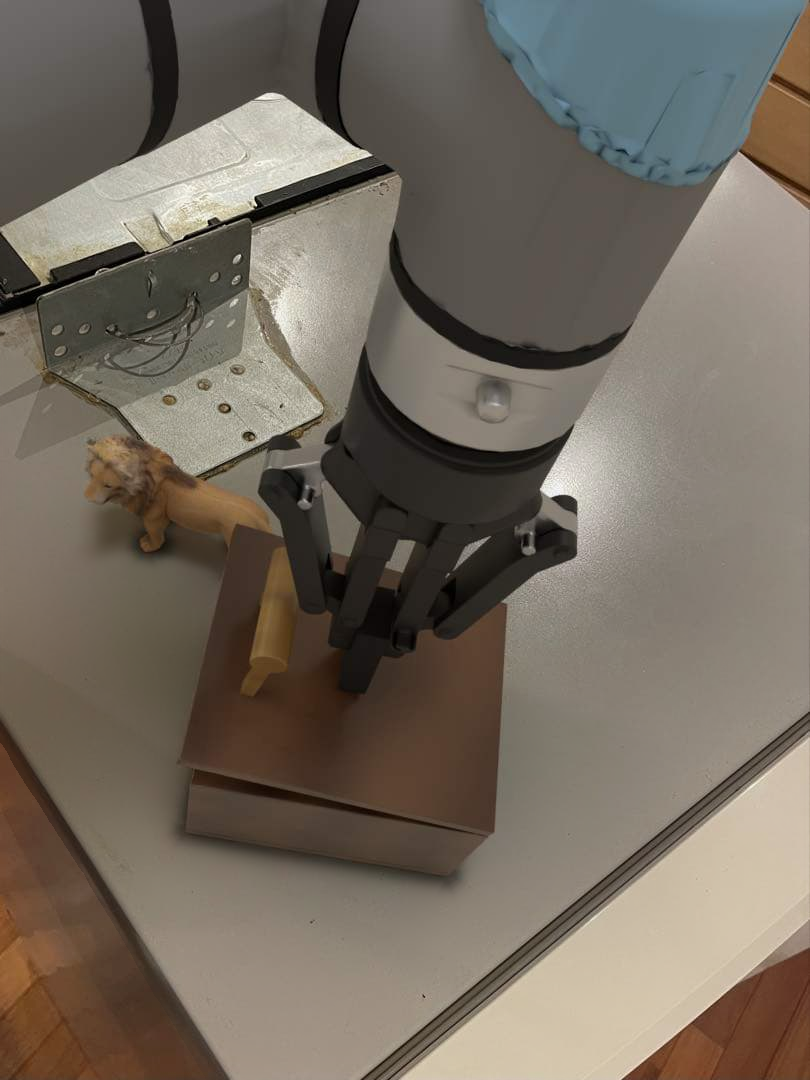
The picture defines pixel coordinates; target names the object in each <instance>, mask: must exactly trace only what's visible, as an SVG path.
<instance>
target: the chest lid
mask: <svg viewBox="0 0 810 1080" xmlns="http://www.w3.org/2000/svg"><path fill="white" fill-rule="evenodd" d="M227 549H228V548H227ZM332 556H333V563H334V566H333V570H334V571H336V572H339V573H341V574H344V571H345V565H346V561H347V562H348V561H349V558H350V556H348V555H345V554H341V553H338V552H335V551H332ZM402 574H403V571H398V570H395V569H392V568H388V567H385V568H384V571H383V573H382V576H381V578H380V581H379V583H378V586H379V587H384V588H389V589H394V590H396V593H395V597H396V594H397V586H398V583H399V581H400V579H401V576H402ZM215 599H216V600H215V603H214V608H213V611H212V616H211V620H210V624H209V627H208V631H207V635H206V641H205V644H204V648H203V652H202V657H201V661H200V665H199V670H198V674H197V677H196V682H195V685H194V690H193V693H192V698H191V701H190V702H191V703H190V706H189V711H188V715H187V719H186V723H185V727H184V731H183V735H182V740H181V743H180V747H179V752H178V755H177V760H176V765H177V766H181V767H186V768H191V769H193V770H194V769H198V770H203V771H207V772H211V773H216V774H220V775H224V776H229V777H233V778H237V779H242V780H246V781H250V782H255V783H259V784H264V785H268V786H272V787H277V788H281V789H285V790H290V791H294V792H298V793H303V794H307V795H311V796H316V797H320V798H324V799H329V800H333V801H337V802H342V803H346V804H350V805H355V806H359V807H363V808H368V809H372V810H377V811H381V812H385V813H390V814H394V815H398V816H403V817H407V818H411V819H416V820H420V821H424V822H429V823H433V824H437V825H442V826H446V827H450V828H455V829H459V830H463V831H468V832H472V833H476V834H481V835H485V836H489V837H490V836H491V835H493V834H494V833H495V831H496V830H495V829H496V813H497V812H496V811H497V797H498V796H497V795H498V794H497V793H498V780H499V779H498V778H499V759H500V758H499V757H500V744H501V743H500V742H501V724H502V723H501V722H502V707H503V688H504V687H503V686H504V670H505V669H504V668H505V655H506V653H505V652H506V637H507V636H506V633H507V619H508V617H507V616H508V603H506V602H503V601H502V602H500V603H499V604H498V605H497V606H495V607H494V608H493V609H492V610H490V611H489V612H488V613H487V614H485V615H484V616H483V617H482V618H480V619H479V620H478V621H477V622H476V623H474V624H473V625H472V626H471V627H469V628H468V629H467V630H466V631H464V632H463V633H462V634H461V635H459V636H458V637H457V638H455V639H450V640H443V639H440V638H438V637H436V636H435V635H433V630H420V631H419V633H418V635H417V642H416V650H415V651H414V652H411V653H404V655H403V656H402V657H400V658H398V659H396V658H390V657H385V656H382V658H381V660H380V662H379V664H378V667H377V669H376V671H375V673H374V675H373V678H372V680H371V682H370V684H369V687H368V689H367V691H366V693H365V694H361V693H355V692H350V691H345V690H339V689H337V687H338V680H339V674H340V667H341V661H342V655H343V649H340V648H334V647H330V645H329V643H328V637H329V631H330V625H331V619H332V615H333V614H332V613H330V612H329V611H326V612H324V613H323V614H320V615H313V614H308V613H305V612H304V611H302V610H301V608H300V606H299V602H298V598H297V593H296V589H295V585H294V580H293V576H292V572H291V567H290V563H289V559H288V554H287V550H286V545H285V541H284V537H283V536H281V535H277V534H275V533H274V534H271V533H268V532H264V531H261V530H258V529H254V528H251V527H248V526H244V525H241V524H236V525H235V527H234V529H233V533H232V537H231V541H230V545H229V549H228V550H227V554H226V558H225V562H224V566H223V570H222V575H221V579H220V582H219V587H218V591H217V595H216V598H215Z"/></svg>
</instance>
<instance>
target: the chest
mask: <svg viewBox="0 0 810 1080" xmlns="http://www.w3.org/2000/svg"><path fill="white" fill-rule="evenodd" d="M188 791H189V793H188V799H187V800H188V801H187V812H186V820H185V831H184V832H185V833H186V834H190V835H191V834H192V835H196V836H202V837H209V838H215V839H221V840H226V841H227V840H228V841H233V842H239V843H246V844H250V845H257V846H262V847H267V848H275V849H280V850H287V851H292V852H299V853H303V854H304V853H305V854H311V855H315V856H316V855H317V856H321V857H328V858H335V859H340V860H345V861H352V862H359V863H365V864H369V865H376V866H381V867H388V868H394V869H399V870H406V871H411V872H418V873H424V874H429V875H435V876H440V877H441V876H442V877H448V876H450V874H452V872H454V871H455V870H456V869H457V868H458V867H459V866H460V865H461V864H462V863H463V862H464V861H465V860H466V859H467V858H468V857H469V856H471V855H472V854H473V852H475V851H476V850H477V849H478V848H479V847H480V846H481V845H483V843H484V842H485V841H486V840H487V839H488V838H489V837H490V835H489V836H485V835H481V834H476V833H472V832H468V831H463V830H459V829H455V828H450V827H446V826H442V825H437V824H433V823H429V822H424V821H420V820H416V819H411V818H407V817H403V816H398V815H394V814H390V813H385V812H381V811H377V810H372V809H368V808H363V807H359V806H355V805H350V804H346V803H342V802H337V801H333V800H329V799H324V798H320V797H316V796H311V795H307V794H303V793H298V792H294V791H290V790H285V789H281V788H277V787H272V786H268V785H264V784H259V783H255V782H250V781H246V780H242V779H237V778H233V777H229V776H224V775H220V774H216V773H211V772H207V771H203V770H198V769H194V768H193V771H192V775H191V779H190V784H189V790H188Z"/></svg>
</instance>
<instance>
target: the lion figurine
mask: <svg viewBox="0 0 810 1080" xmlns="http://www.w3.org/2000/svg"><path fill="white" fill-rule="evenodd" d="M86 449H87V454H86V456H85V457H86V460H85V465H84V471H85V472H86V473H87V475H88V478H89V481H88V484H86V486H85V487H84V489H83V492H82V493H83V497H84V498H85V499H86V500H87V501H89V502H90V503H92V504H93V505H95V506H96V507H100V506H103V505H104V504H106V503H108V502H109V503H112V504H115V505H119V504H120V505H121V508H122V509H123V510H126V512H127V513H128V514H129V513H132V514H133V515H135V516H137V517H141V518H142V522H143V525H144V528H145V531H146V532H147V534H145V535H144V536H143V537H142V538H140V540H139V542H140V548H141V549H142V550H143V551H144V552H145V553H151V552H154V551H157V550H158V549H160V548H161V546H162V544H163V543H164V542H165V535H164V530H165V529H166V528H167V527H168V526H169V525H170V523H171V521H172V522H174V523H175V524H178V525H179V526H182V527H184V528H186V529H189V530H191V531H194V532H198V533H201V534H205V535H212V536H214V535H219V536H221V537H222V538H223V539H224V540H225V543H226V546H227V549H229V545H230V541H231V537H232V533H233V529H234V527H235V525H236V524H241V525H244V526H248V527H251V528H254V529H258V530H261V531H264V532H268V533H271V534H274V535H275V533H274V531H273V529H272V528H271V526H270V519H269V516H268V513H267V512H266V510H264V509H263V508H262V507H261V506H260V505H259V504H258V503H256V502H255V501H254V500H253V499H252V498H250V497H248V496H246V495H243V494H242V495H241V494H238V493H234V492H231V491H227V490H225V489H223V488H220V487H219V486H216V485H214V484H212V483H209V482H208V481H205V480H203V479H201V478H199V477H197V476H194V475H192V474H190V473H189V472H186V471H184V470H183V469H181V468H180V466H179V465H177V464H175V463H174V459H173V457H172V456H171V455H170V454H169V453H167V452H166V451H162V448H160V447H156V446H154V445H152V444H149V443H148V442H147V441H145V440H140V439H137V438H136V437H134V436H133V435H128V436H127V435H123V434H121V433H115V434H110V435H108V436H105V437H102V438H99V439H98V440H97V441H96V442H95V443H94V445H93V444H92V445H91V444H90V445H86Z"/></svg>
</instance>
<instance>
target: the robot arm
mask: <svg viewBox="0 0 810 1080" xmlns="http://www.w3.org/2000/svg"><path fill="white" fill-rule="evenodd" d="M809 2H810V0H0V228H1V229H2V227H5V226H7V225H8V224H11V223H13V222H14V221H16V220H18V219H19V218H22V217H23V216H25V215H27V214H29V213H31V212H32V211H35V210H36V209H38V208H40V207H42V206H43V205H46V204H48V203H50V202H51V201H53V200H55V199H57V198H59V197H62V195H65V194H66V193H68V192H71V191H72V190H73V189H76V188H77V187H79V186H81V185H83V184H85V183H87V182H89V181H90V180H92V179H94V178H96V177H98V176H100V175H102V174H103V173H105V172H108V171H109V170H111V169H113V168H116V167H119V166H122V165H125V164H127V163H129V162H131V161H133V160H134V159H136V158H139V157H143V156H146V155H148V154H151V153H153V152H155V151H156V150H158V149H160V148H162V147H164V146H166V145H168V144H170V143H172V142H174V141H176V140H178V139H180V138H182V137H184V136H187V135H188V134H190V133H192V132H194V131H195V130H197V129H200V128H202V127H204V126H205V125H207V124H209V123H211V122H214V121H215V120H217V119H219V118H221V117H223V116H225V115H227V114H229V113H231V112H233V111H235V110H237V109H239V108H241V107H243V106H245V105H247V104H248V103H250V102H252V101H254V100H256V99H258V98H260V97H262V96H265V95H267V94H276V95H280V96H283V97H284V98H285V99H287V100H289V101H290V102H292V103H293V104H294V105H295V106H297V107H298V108H300V109H301V110H303V112H306V113H307V114H308V115H310V116H311V117H312V118H314V119H315V120H317V121H319V122H320V123H321V124H323V125H324V126H326V127H327V128H329V129H330V131H332V132H333V133H335V134H336V135H338V136H339V137H340V138H341V139H343V140H345V142H347V143H349V145H351V146H353V147H354V148H356V149H359V150H363V151H366V152H367V153H369V154H370V155H371V156H372V157H374V158H376V159H377V160H379V162H381V163H383V164H385V165H386V166H387V167H389V168H390V169H391V170H392V171H394V172H395V173H396V174H397V176H398V177H399V179H400V180H401V187H400V192H399V199H398V204H397V210H396V214H395V219H394V224H393V228H392V231H391V235H390V239H389V242H388V245H387V250H386V252H385V257H384V261H383V263H382V268H381V273H380V276H379V281H378V284H377V288H376V292H375V296H374V300H373V302H372V307H371V312H370V316H369V319H368V324H367V331H366V337H365V341H364V343H363V346H362V349H361V352H360V355H359V360H358V363H357V367H356V372H355V375H354V378H353V382H352V387H351V391H350V394H349V397H348V403H347V406H346V409H345V414H344V417H343V418H342V419H340V420H339V422H337V423H335V424H334V425H333V426H332V427H330V428H329V429H328V431H327V433H326V434H325V437H324V440H323V441H324V442H323V443H321V444H315V445H310V446H303V447H302V446H301V444H300V442H299V441H298V440H297V439H296V438H294V437H293V436H290V435H288V434H275V435H272V436H271V437H270V438H269V441H268V445H267V448H266V449H267V450H266V454H265V457H264V461H263V466H262V470H261V475H260V479H259V483H258V488H257V494H258V496H259V497H260V498H261V500H262V501H263V502H264V503H265V505H266V506H267V507H268V509H270V511H271V512H272V513H273V514H274V515H275V517H276V518H277V519H278V521H279V524H280V529H281V532H282V537H284V541H285V545H286V550H287V554H288V559H289V563H290V567H291V572H292V576H293V580H294V585H295V589H296V593H297V598H298V602H299V606H300V608H301V610H302V611H304V612H305V613H308V614H313V615H320V614H323V613H324V612H326V611H329V612H330V613H332V614H333V615H332V619H331V625H330V631H329V637H328V643H329V645H330V647H334V648H340V649H343V655H342V661H341V667H340V674H339V680H338V687H337V689H339V690H345V691H350V692H355V693H361V694H365V693H366V691H367V689H368V687H369V684H370V682H371V680H372V678H373V675H374V673H375V671H376V669H377V667H378V664H379V662H380V660H381V658H382V656H385V657H390V658H396V659H398V658H400V657H402V656H403V655H404V653H411V652H414V651H415V650H416V642H417V635H418V633H419V631H420V630H433V635H435V636H436V637H438V638H440V639H443V640H450V639H455V638H457V637H458V636H459V635H461V634H462V633H463V632H464V631H466V630H467V629H468V628H469V627H471V626H472V625H473V624H474V623H476V622H477V621H478V620H479V619H480V618H482V617H483V616H484V615H485V614H487V613H488V612H489V611H490V610H492V609H493V608H494V607H495V606H497V605H498V604H499V603H500V602H503V601H504V600H505V599H507V598H508V597H509V596H510V595H512V594H514V592H515V591H517V590H518V589H519V588H520V587H521V586H523V585H524V584H525V583H526V582H528V581H529V580H531V578H532V577H534V576H535V575H536V574H538V573H540V572H543V571H546V570H549V569H551V568H553V567H556V566H559V565H562V564H564V563H566V562H570V561H572V560H573V559H575V558H576V557H578V531H579V530H578V526H579V524H578V523H579V522H578V521H579V519H578V517H579V516H578V514H579V513H578V512H579V511H578V510H579V509H578V508H579V507H578V504H579V503H578V500H577V499H576V498H575V497H573V496H571V495H568V494H557V495H553V496H552V497H550V496H548V495H547V494H546V493H545V492H543V490H541V488H542V486H543V484H544V482H545V481H546V479H547V477H548V475H549V473H550V472H551V470H552V468H554V466H555V463H556V461H557V460H558V458H559V456H560V454H561V453H562V451H563V449H564V448H565V446H566V444H567V442H568V440H569V439H570V437H571V435H572V432H573V430H574V428H575V424H576V422H577V421H578V420H580V418H581V417H582V415H583V413H584V412H585V410H586V408H587V406H588V404H589V402H590V401H591V399H592V397H593V396H594V394H595V392H596V390H597V389H598V387H599V385H600V383H601V381H602V380H603V378H604V377H605V375H606V373H607V371H608V370H609V368H610V366H611V364H612V362H613V361H614V359H615V357H616V355H617V354H618V352H619V350H620V348H621V347H622V345H623V343H624V342H625V340H626V338H627V335H628V333H629V332H630V330H631V328H632V327H633V325H634V323H635V321H636V320H637V317H638V315H639V313H640V311H641V310H642V308H643V306H644V305H645V303H646V302H647V300H648V298H649V296H650V294H651V293H652V291H653V289H655V286H656V285H657V283H658V281H659V279H660V278H661V277H662V275H663V273H664V271H665V269H666V268H667V267H668V265H669V263H670V261H671V260H672V258H673V256H674V255H675V253H676V251H677V250H678V248H679V246H680V245H681V243H682V241H683V239H684V238H685V236H686V234H687V233H688V231H689V229H690V228H691V226H692V224H693V223H694V222H695V219H696V218H697V216H698V214H699V212H700V211H701V209H702V207H703V206H704V204H705V202H706V201H707V199H708V197H709V196H710V194H711V193H712V191H713V190H714V188H715V186H716V184H717V183H718V181H719V179H720V178H721V176H722V175H723V174H724V172H725V170H726V169H727V167H728V166H729V164H730V163H731V160H732V159H734V157H735V156H736V155H737V154H738V153H739V151H740V150H741V148H742V147H743V145H744V144H745V142H746V140H747V139H748V136H749V135H750V133H751V125H752V124H751V123H752V120H753V119H754V118H755V117H754V116H755V112H756V108H757V106H758V105H759V102H760V100H761V98H762V96H763V94H764V92H765V90H766V88H767V86H768V84H769V82H770V80H771V78H772V76H773V74H774V72H775V70H776V68H777V66H778V64H779V63H780V60H781V57H782V56H783V54H784V52H785V50H786V48H787V46H788V44H789V42H790V40H791V38H792V36H793V34H794V32H795V30H796V28H797V26H798V24H799V21H800V20H801V18H802V16H803V14H804V12H805V10H806V8H807V5H808V4H809ZM325 481H327V483H328V484H329V485H330V487H331V488H332V489H333V491H334V492H335V493H336V494H337V495H338V497H339V499H341V501H342V502H343V503H344V504H345V506H346V507H347V508H348V510H349V511H350V512H351V513H352V514H353V516H354V517H355V518H356V520H357V521H358V522H359V523H360V524H359V528H358V531H357V534H356V537H355V539H354V542H353V546H352V549H351V552H350V555H349V557H350V558H349V561H348V562H347V561H346V565H345V571H344V574H341V573H339V572H336V571H334V570H333V566H334V563H333V556H332V552H333V551H332V546H331V545H332V544H331V539H330V532H329V526H328V525H329V524H328V519H327V513H326V508H325V507H326V506H325V502H324V495H323V491H324V486H325ZM484 539H486V540H485V541H484V542H483V543H482V544H481V545H480V546H479V547H477V548H476V549H475V550H474V551H473V552H472V553H471V554H470V555H469V556H467V558H466V559H464V561H462V562H461V564H459V565H458V566H457V564H458V562H459V560H460V559H461V557H462V554H463V552H464V550H465V548H466V547H468V546H470V545H472V544H474V543H477V542H479V541H482V540H484ZM399 541H412V542H414V545H413V548H412V550H411V553H410V554H409V557H408V559H407V561H406V563H405V567H404V569H403V571H402V573H403V574H402V576H401V579H400V581H399V583H398V586H397V594H396V597H395V593H396V590H394V589H389V588H384V587H379V586H378V583H379V581H380V578H381V576H382V573H383V571H384V568H386V565H387V563H388V562H391V559H392V558H393V554H394V552H395V550H396V547H397V544H398V542H399ZM456 566H457V567H456Z"/></svg>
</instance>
